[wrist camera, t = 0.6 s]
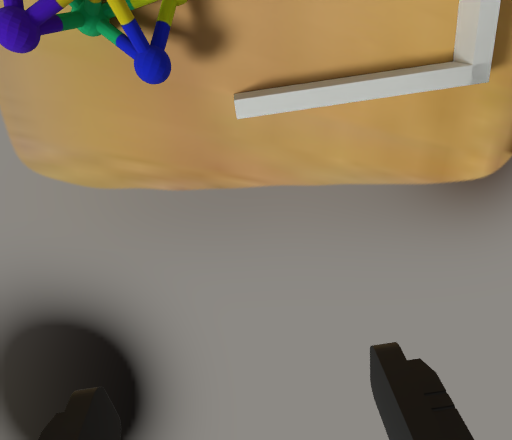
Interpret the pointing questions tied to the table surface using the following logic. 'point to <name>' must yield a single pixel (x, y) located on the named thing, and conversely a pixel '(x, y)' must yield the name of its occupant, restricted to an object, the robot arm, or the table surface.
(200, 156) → the table surface
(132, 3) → the decorative model
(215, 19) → the table surface
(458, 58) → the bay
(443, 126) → the table surface
